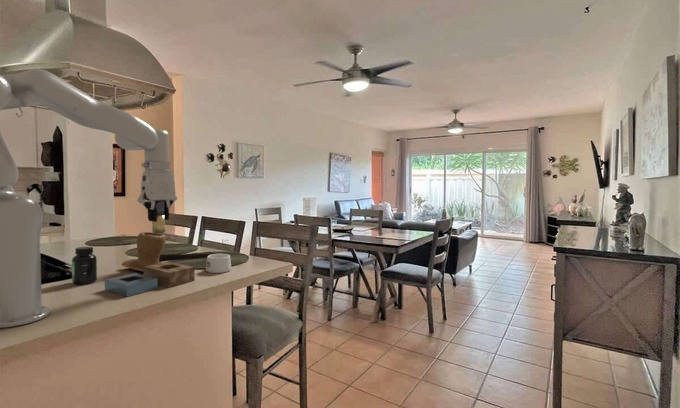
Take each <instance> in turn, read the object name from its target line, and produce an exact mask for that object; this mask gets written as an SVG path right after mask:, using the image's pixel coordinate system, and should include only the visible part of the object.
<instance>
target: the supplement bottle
mask: <svg viewBox="0 0 680 408" xmlns="http://www.w3.org/2000/svg"><path fill="white" fill-rule="evenodd" d="M93 253H94V247H93V246H79V247H75V253H74V254H75V255H74V256H73V257H72V259H71V278H72V279H71V282H72V284H73V285H74V286H75V285H76V286H85V285H90V284H93V283H96V282H97V280H98V271H97V270H98V260H97V259H98V258H97V255H95V254H93Z"/></svg>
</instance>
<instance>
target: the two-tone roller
mask: <svg viewBox="0 0 680 408" xmlns="http://www.w3.org/2000/svg"><path fill="white" fill-rule="evenodd" d="M154 210H156V221H151V223H152V224H151V225H152V227H151V229H152V230H151V232H152V233H159V234H164V233H166V220H165V200H157V201H155V206H154Z"/></svg>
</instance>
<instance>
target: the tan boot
mask: <svg viewBox="0 0 680 408" xmlns="http://www.w3.org/2000/svg"><path fill="white" fill-rule="evenodd" d="M166 239H167V238H166V235H165V234H164V233H152V231H142V232H141V231H140V233H139V234H138V236H137V241H136V248H137V249H136V250H137V256H138V257H137V258H134V259H128V260H126V261H123V262H121V266H122V267H125V268H128V269H131V270H134V271H139V272H143V273H144V267H145V266H150V265H155V264H159V257H160V255H162V252H163V250H164V248H165V245H166Z"/></svg>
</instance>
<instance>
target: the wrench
mask: <svg viewBox="0 0 680 408" xmlns="http://www.w3.org/2000/svg"><path fill="white" fill-rule="evenodd" d="M212 254H217V253H215V252H214V253H213V252H208V253H179V254H177V253H174V254H173V253H171V254H161V255H160V257H159V263H163V262H172V261H180V260H181V261H182V260H190V259H199V257H203V258H206V257H205V256H209V255H212Z"/></svg>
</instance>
